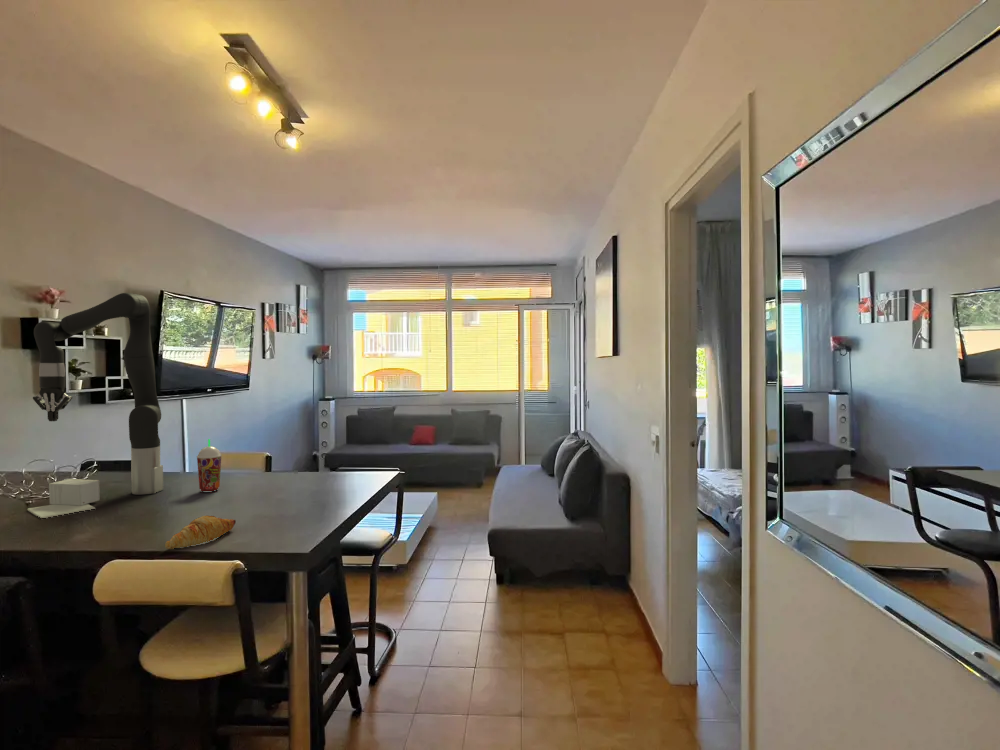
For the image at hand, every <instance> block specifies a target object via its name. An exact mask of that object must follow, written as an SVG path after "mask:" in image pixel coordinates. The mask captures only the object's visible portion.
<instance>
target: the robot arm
mask: <svg viewBox="0 0 1000 750" xmlns="http://www.w3.org/2000/svg"><path fill="white" fill-rule="evenodd" d="M150 307H151V306H150V304H149V300H148V299H147V297H145V296H144V295H143V294H138V293H131V292H121V293H119V294H117V295H114V296H112V297H111V298H108V299H107V300H105V301H103V302H101V303H99V304H97V305H95V306H92V307H90V308H88V309H84V310H81V311H79V312H75V313H71V314H69V315H66V316H63V317H62V318H61V320H60V321H57V322H56V321H55V322H53V321H40V322H38V323H37V324H36V325H35V326H34V328H33V337H34V339H35V343H36V346H37V349H38V351H39V368H38V369H39V370H38V371H39V372H38V373H39V374H38V376H39V378H38V381H39V388H40V390H39V391H38V392H39V394H38V395H35V396H32V399H33V401H34V403H36V404H37V405H38V407H39V408H40V409H41V410H43V411H46V413H47V420H48V421H49V422H57V421H58V419H59V411H60V410H65V408H66V407H67V406H68V404H69V403H71V401H72V400H73V396H72V395H70V396H69V395H68V394H67V392H66V389H65V388H66V366H65V352H64V351H65V350H64V349H63V348H61V347H58V346H57V345H56V342H61V341H64V340H68V339H70V338H71V337H74V336H75V335H76V334H79V333H82V332H85V331H88V330H91V329H94V328H95V327H98V326H99V325H100V324H101V323H103V322H105V321H108V320H112V319H117V318H127V319H128V324H129V336H128V339H127V342H126V345H125V347H124V351H123V360H124V367H125V372H126V373H125V374H126V375H127V379H128V381H129V384H130V386H131V388H132V391H133V395H134V396H133V398H134V407H133V409H132V410H131V411H130V413H129V416H128V436H129V442H130V457H131V459H130V461H131V462H130V464H131V466H130V467H131V469H130V471H131V472H130V473H131V474H130V475H131V494H132V495H141V496H142V495H150V494H157V493H159V492H160V491H163V490H164V466H163V465H162V464H161V439H160V436H159V423H160V422H161V420H162V410H161V406H160V403H159V399H158V393H157V387H156V384H157V383H156V370H155V359H154V353H153V345H152V337H151V336H152V335H151V308H150ZM156 492H157V493H156Z"/></svg>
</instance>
